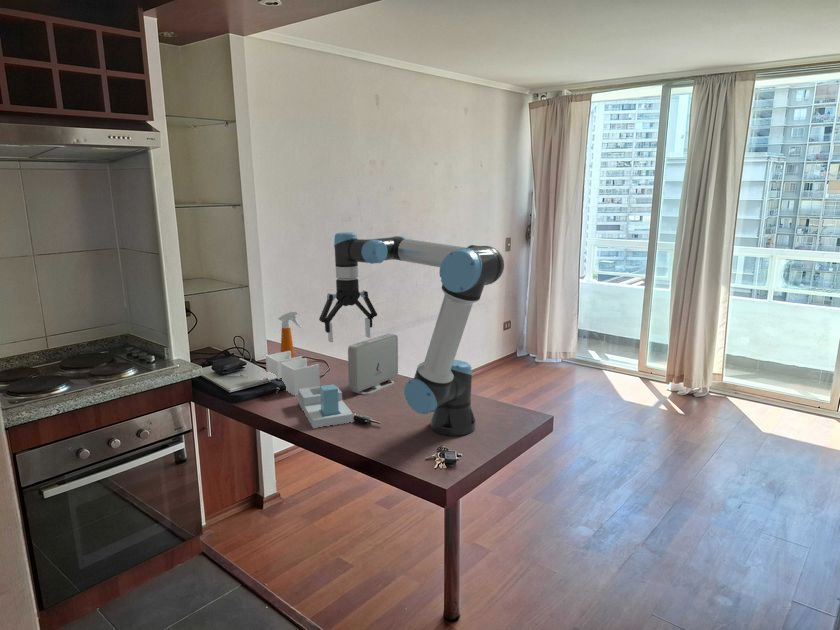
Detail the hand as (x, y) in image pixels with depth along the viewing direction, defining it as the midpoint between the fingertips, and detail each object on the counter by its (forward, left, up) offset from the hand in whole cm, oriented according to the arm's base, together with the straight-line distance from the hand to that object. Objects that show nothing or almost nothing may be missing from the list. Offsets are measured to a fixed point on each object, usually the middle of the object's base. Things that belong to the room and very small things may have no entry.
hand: (349, 339), depth 196 cm
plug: (-2, +8, -28) cm, 29 cm away
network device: (+24, -17, -28) cm, 41 cm away
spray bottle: (+62, +9, -28) cm, 69 cm away
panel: (+5, +8, -28) cm, 30 cm away
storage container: (+40, +13, -28) cm, 51 cm away
